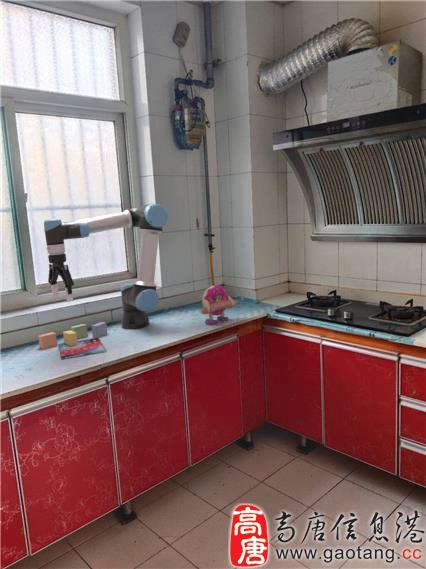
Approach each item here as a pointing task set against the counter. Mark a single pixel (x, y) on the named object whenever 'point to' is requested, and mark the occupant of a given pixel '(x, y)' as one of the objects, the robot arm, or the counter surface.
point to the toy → (216, 304)
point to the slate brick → (99, 329)
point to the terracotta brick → (47, 340)
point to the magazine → (81, 348)
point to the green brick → (80, 330)
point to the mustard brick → (70, 338)
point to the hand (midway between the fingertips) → (63, 299)
